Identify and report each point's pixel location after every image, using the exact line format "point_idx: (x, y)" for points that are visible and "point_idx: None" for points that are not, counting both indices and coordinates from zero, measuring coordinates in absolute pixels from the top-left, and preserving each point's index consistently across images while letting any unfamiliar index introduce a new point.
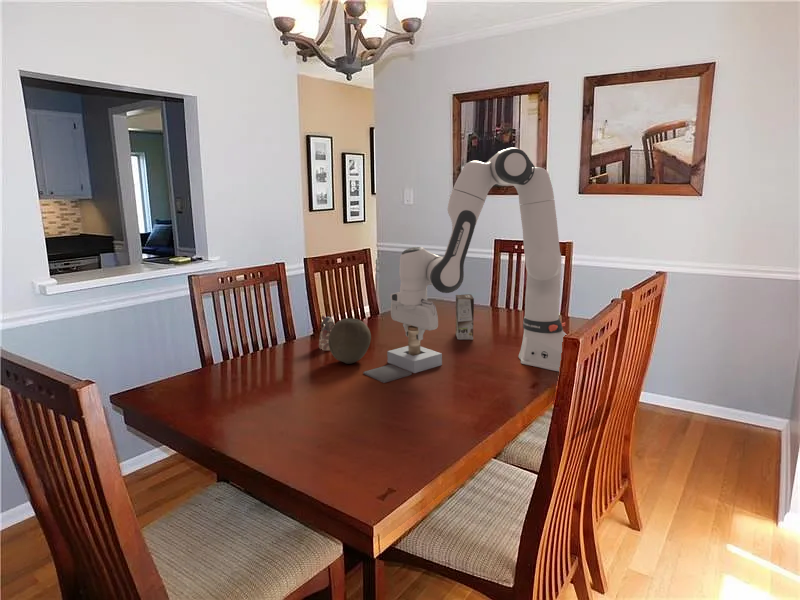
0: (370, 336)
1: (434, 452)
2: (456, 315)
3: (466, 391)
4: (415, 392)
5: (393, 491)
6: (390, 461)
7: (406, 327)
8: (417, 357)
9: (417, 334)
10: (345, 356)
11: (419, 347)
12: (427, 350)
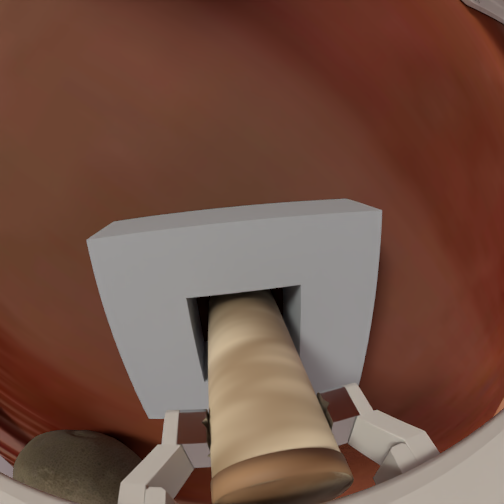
0: (104, 495)
1: (492, 404)
2: None
3: (497, 290)
4: (421, 393)
5: None
6: (465, 437)
7: (169, 490)
8: (333, 362)
9: (336, 441)
10: None
11: (294, 345)
12: (273, 249)
